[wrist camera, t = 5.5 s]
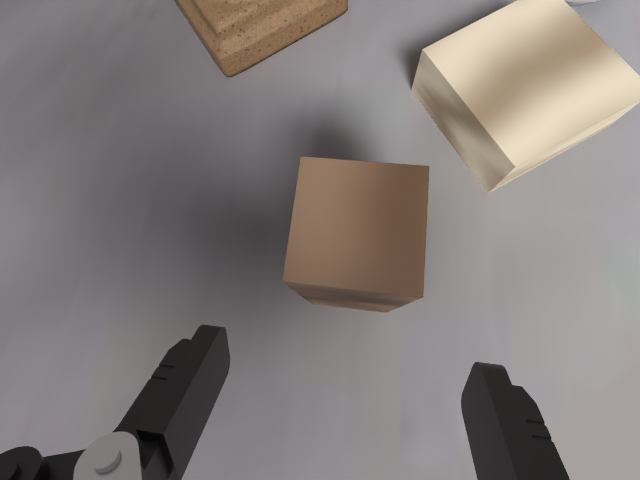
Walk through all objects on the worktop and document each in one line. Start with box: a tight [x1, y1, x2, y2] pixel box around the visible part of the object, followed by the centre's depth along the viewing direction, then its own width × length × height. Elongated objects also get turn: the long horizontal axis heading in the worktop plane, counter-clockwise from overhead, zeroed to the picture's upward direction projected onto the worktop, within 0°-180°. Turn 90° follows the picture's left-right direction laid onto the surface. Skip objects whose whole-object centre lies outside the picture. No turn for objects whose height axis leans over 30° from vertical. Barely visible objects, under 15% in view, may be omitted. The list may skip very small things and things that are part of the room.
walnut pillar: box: [282, 157, 429, 312], centre depth 16 cm, size 4×4×10 cm
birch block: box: [411, 0, 640, 193], centre depth 21 cm, size 9×9×4 cm
